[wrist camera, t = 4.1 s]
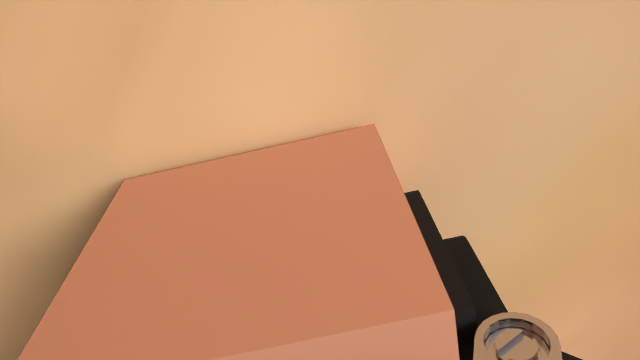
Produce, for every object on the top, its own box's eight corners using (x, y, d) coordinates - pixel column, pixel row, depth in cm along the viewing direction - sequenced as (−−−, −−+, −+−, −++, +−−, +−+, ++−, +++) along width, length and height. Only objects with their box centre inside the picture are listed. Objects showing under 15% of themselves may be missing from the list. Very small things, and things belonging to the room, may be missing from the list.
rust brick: (406, 311, 14) (479, 548, 9) (206, 352, 14) (161, 606, 9) (373, 123, 11) (453, 309, 6) (124, 180, 11) (-10, 405, 6)
